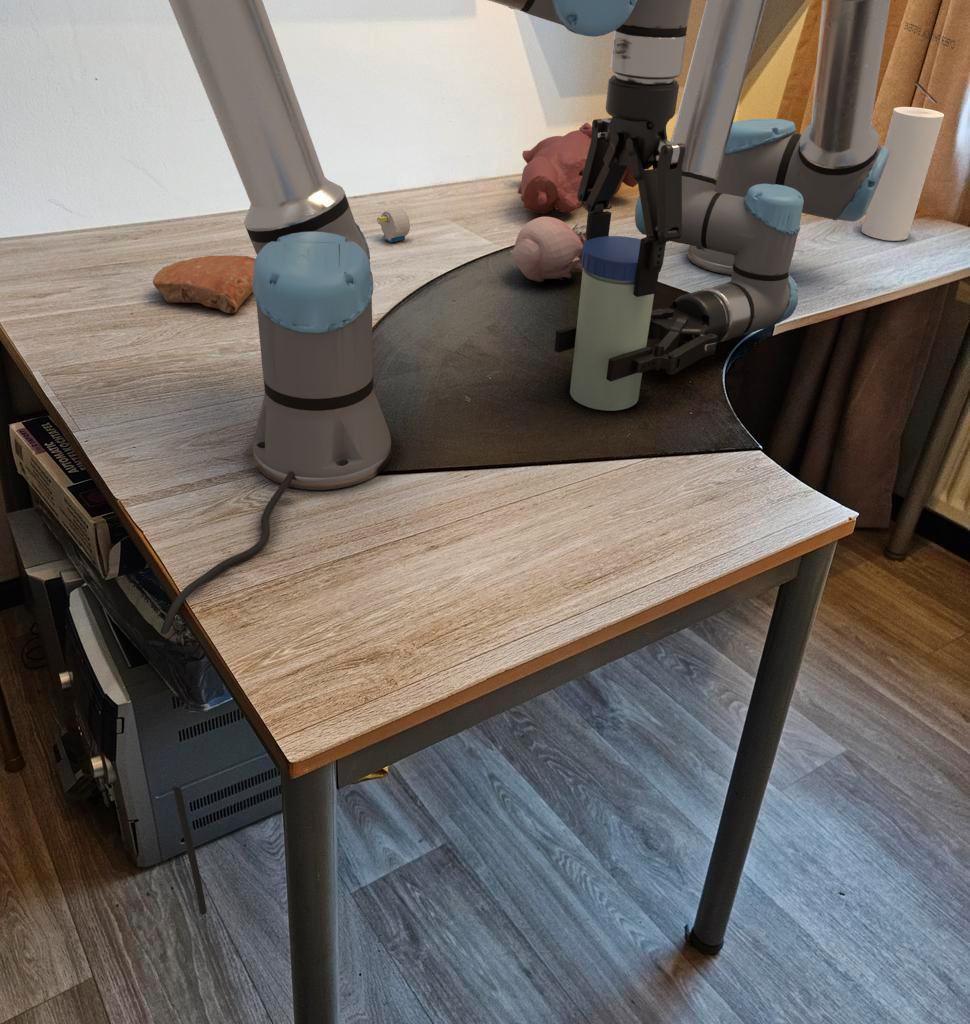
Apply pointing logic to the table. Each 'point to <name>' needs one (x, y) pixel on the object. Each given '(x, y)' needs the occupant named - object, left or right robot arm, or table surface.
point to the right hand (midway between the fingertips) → (582, 355)
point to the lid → (611, 257)
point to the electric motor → (394, 225)
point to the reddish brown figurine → (558, 172)
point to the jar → (608, 341)
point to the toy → (549, 248)
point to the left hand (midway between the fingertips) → (618, 279)
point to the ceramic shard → (208, 281)
